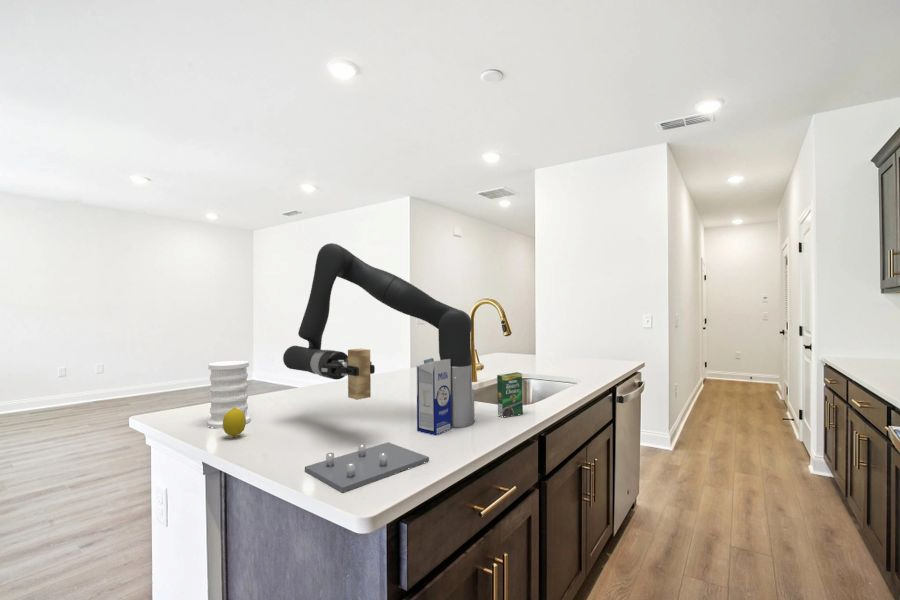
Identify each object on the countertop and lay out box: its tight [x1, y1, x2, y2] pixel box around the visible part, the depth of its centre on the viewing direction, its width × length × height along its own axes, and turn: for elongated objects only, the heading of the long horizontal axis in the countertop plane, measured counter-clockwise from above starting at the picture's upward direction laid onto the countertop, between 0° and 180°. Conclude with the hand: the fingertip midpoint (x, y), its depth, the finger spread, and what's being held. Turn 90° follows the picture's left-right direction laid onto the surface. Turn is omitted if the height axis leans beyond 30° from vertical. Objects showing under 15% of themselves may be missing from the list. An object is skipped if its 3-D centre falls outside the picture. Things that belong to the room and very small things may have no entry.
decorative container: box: [206, 360, 252, 429], centre depth 130 cm, size 12×12×18 cm
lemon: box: [223, 408, 247, 439], centre depth 116 cm, size 6×6×8 cm
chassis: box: [304, 442, 430, 494], centre depth 95 cm, size 22×15×4 cm
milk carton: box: [416, 357, 452, 436], centre depth 121 cm, size 7×7×20 cm
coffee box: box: [496, 371, 524, 418], centre depth 136 cm, size 8×3×13 cm, turn 118°
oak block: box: [347, 348, 372, 400], centre depth 109 cm, size 4×4×12 cm
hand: (365, 370), depth 107 cm, fingers closed on oak block, 4 cm apart
